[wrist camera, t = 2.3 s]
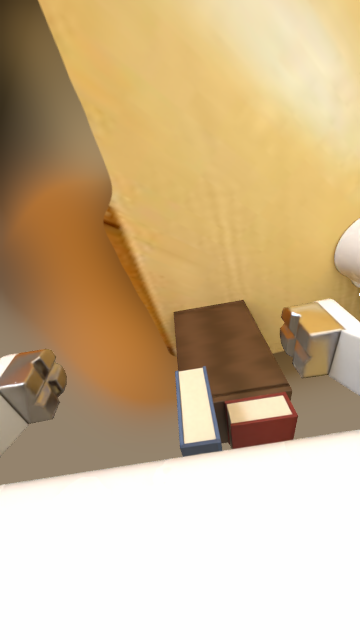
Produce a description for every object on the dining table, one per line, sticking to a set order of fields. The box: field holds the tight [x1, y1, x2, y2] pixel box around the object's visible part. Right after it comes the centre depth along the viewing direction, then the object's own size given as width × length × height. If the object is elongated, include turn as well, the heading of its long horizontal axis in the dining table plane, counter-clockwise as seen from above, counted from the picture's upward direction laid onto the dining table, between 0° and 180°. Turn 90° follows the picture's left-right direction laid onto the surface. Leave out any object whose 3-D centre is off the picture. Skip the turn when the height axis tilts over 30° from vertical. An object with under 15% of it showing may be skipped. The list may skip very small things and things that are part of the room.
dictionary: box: [225, 392, 298, 449], centre depth 38 cm, size 9×12×4 cm
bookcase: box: [174, 300, 292, 443], centre depth 50 cm, size 16×12×26 cm
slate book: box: [175, 366, 222, 457], centre depth 33 cm, size 4×20×10 cm, turn 9°
